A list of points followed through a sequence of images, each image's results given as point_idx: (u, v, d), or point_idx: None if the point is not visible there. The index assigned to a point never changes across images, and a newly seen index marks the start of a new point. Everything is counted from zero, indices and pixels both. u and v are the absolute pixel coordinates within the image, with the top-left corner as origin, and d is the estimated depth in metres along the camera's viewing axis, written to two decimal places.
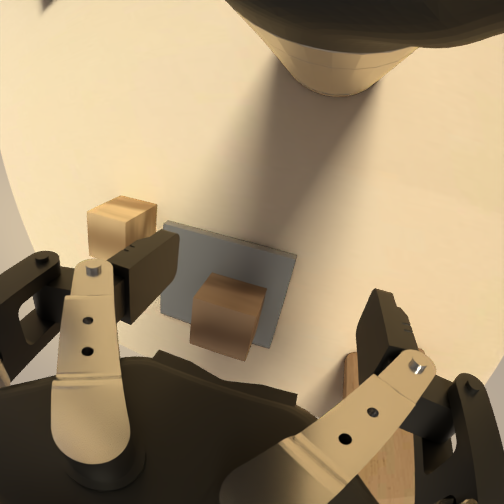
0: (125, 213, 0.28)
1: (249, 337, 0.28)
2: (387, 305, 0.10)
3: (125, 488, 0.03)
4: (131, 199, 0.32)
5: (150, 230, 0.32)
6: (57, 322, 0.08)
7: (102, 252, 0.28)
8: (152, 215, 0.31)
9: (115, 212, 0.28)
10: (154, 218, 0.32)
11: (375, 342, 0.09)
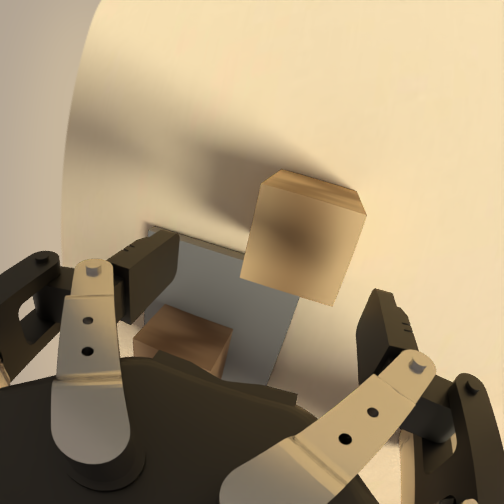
0: None
1: None
2: (387, 305, 0.10)
3: (125, 488, 0.03)
4: None
5: None
6: (57, 322, 0.08)
7: (271, 228, 0.14)
8: None
9: None
10: None
11: (375, 342, 0.09)
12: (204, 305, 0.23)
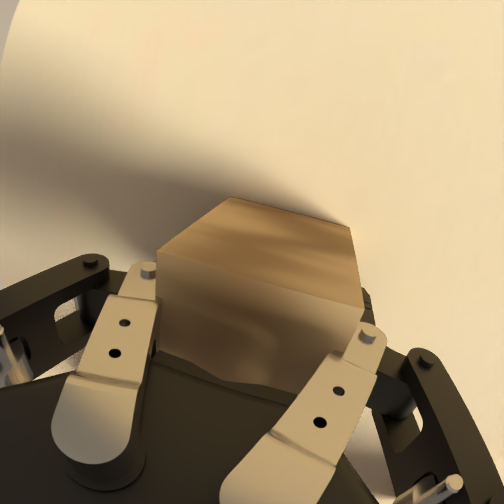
0: None
1: None
2: None
3: (111, 492, 0.03)
4: None
5: None
6: None
7: (186, 326, 0.08)
8: None
9: None
10: None
11: None
12: None
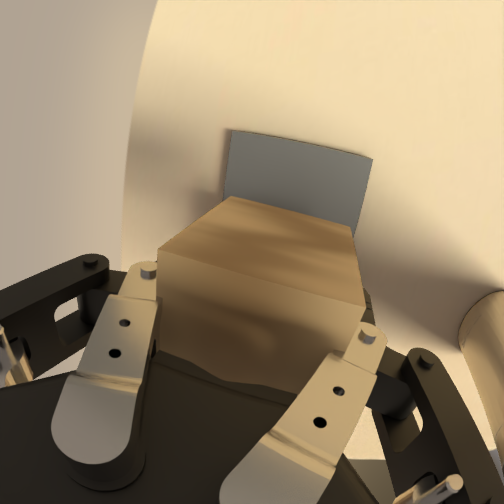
0: None
1: None
2: None
3: (112, 492, 0.03)
4: None
5: None
6: None
7: (187, 325, 0.08)
8: None
9: None
10: None
11: None
12: (284, 195, 0.26)
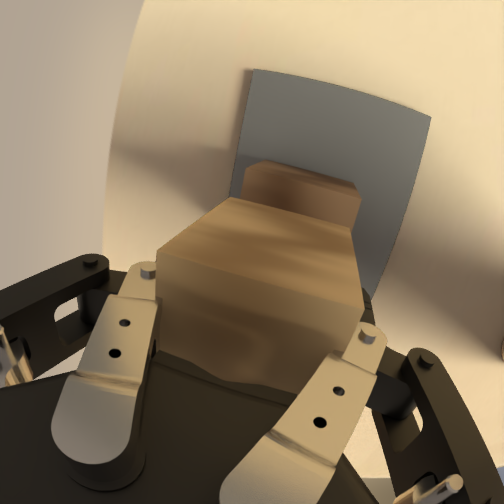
0: None
1: None
2: None
3: (112, 492, 0.03)
4: None
5: None
6: None
7: (186, 326, 0.08)
8: None
9: None
10: None
11: None
12: (320, 153, 0.19)
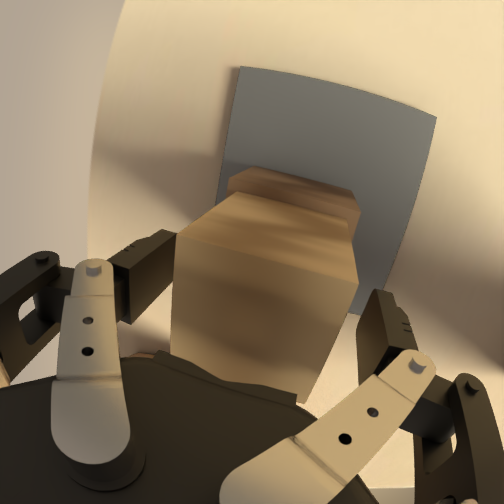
0: None
1: None
2: (387, 305, 0.10)
3: (125, 488, 0.03)
4: None
5: None
6: (57, 322, 0.08)
7: (201, 303, 0.09)
8: None
9: None
10: None
11: (375, 342, 0.09)
12: (314, 158, 0.17)
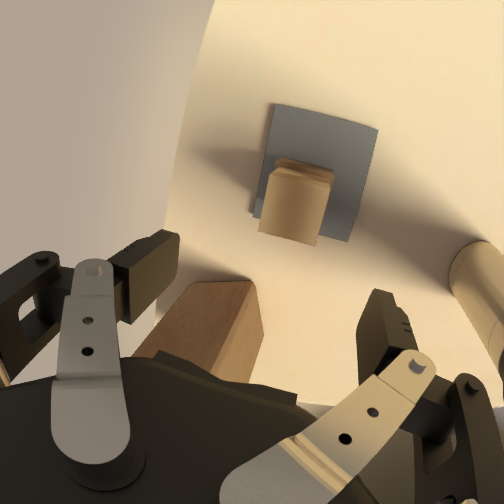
0: None
1: None
2: (387, 305, 0.10)
3: (125, 488, 0.03)
4: None
5: None
6: (57, 322, 0.08)
7: (276, 200, 0.25)
8: None
9: None
10: None
11: (375, 342, 0.09)
12: (313, 153, 0.33)
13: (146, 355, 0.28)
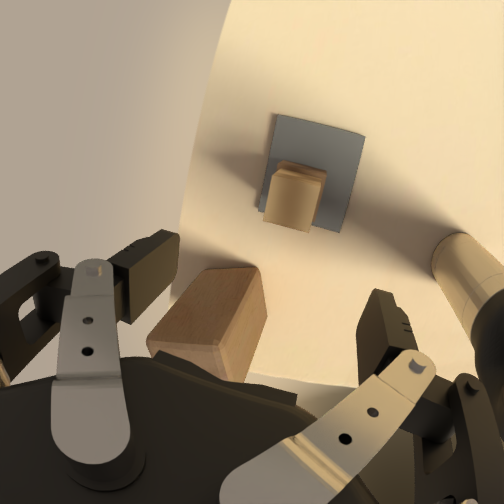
0: None
1: None
2: (388, 305, 0.10)
3: (125, 488, 0.03)
4: None
5: None
6: (57, 322, 0.08)
7: (277, 195, 0.31)
8: None
9: None
10: None
11: (375, 342, 0.09)
12: (309, 156, 0.39)
13: (167, 326, 0.34)
